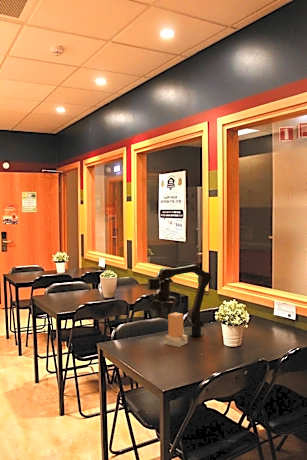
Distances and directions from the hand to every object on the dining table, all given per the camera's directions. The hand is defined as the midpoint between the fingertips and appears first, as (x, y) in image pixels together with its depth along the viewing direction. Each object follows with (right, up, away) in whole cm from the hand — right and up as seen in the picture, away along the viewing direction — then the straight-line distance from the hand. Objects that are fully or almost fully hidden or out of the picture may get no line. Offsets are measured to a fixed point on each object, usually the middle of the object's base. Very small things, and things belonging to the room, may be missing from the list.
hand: (164, 315), depth 250 cm
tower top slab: (+7, -12, -10) cm, 17 cm away
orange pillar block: (+6, -9, -10) cm, 15 cm away
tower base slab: (+7, -14, -10) cm, 19 cm away
